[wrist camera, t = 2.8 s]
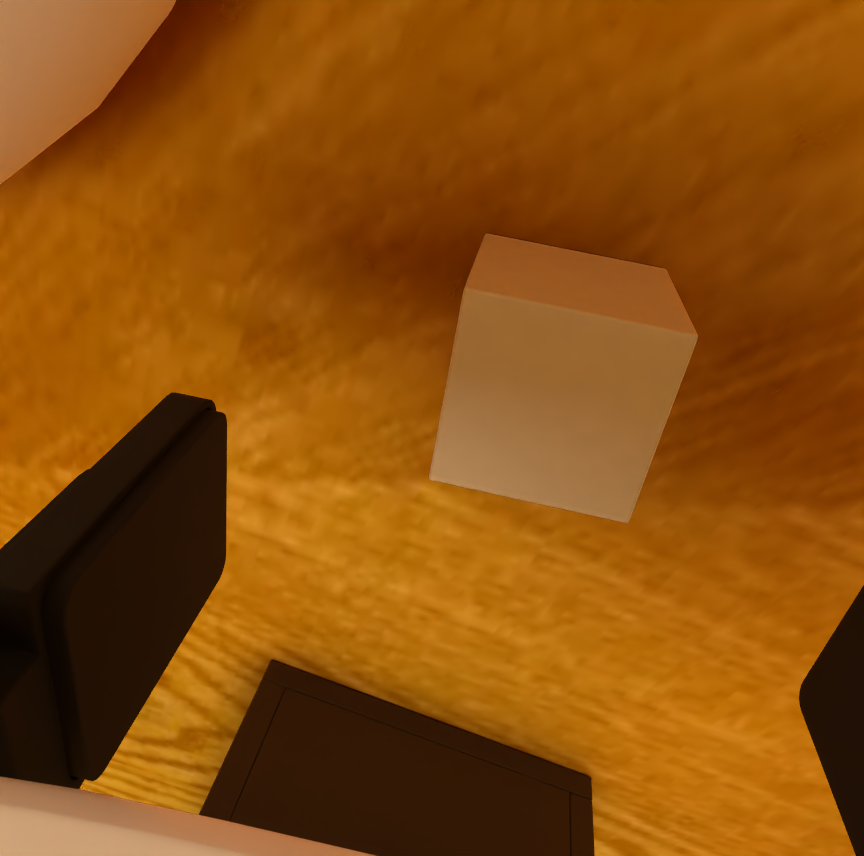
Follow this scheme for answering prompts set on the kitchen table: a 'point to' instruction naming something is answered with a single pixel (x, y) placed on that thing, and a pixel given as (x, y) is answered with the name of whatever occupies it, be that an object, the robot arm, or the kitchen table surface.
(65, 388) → the kitchen table surface
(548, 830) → the cabinet
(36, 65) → the pot
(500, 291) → the block
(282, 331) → the kitchen table surface
